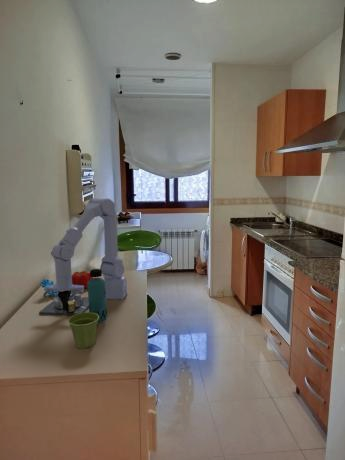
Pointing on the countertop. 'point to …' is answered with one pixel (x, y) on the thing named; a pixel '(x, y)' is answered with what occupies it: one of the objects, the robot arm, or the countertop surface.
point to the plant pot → (84, 329)
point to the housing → (71, 297)
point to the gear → (48, 285)
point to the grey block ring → (70, 302)
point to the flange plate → (53, 310)
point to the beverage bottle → (97, 295)
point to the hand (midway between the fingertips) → (65, 309)
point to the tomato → (81, 278)
